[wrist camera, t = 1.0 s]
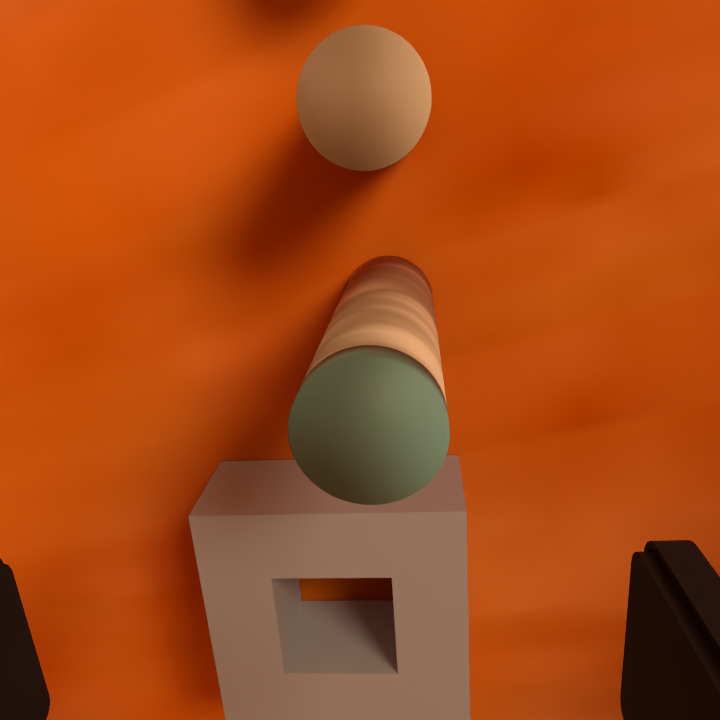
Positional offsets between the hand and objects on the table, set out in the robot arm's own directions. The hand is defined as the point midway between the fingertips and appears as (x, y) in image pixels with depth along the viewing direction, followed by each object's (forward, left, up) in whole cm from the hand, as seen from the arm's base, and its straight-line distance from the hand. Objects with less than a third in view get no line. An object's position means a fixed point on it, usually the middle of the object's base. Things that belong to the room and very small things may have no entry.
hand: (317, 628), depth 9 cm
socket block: (+3, +14, -21) cm, 25 cm away
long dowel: (0, 0, -21) cm, 21 cm away
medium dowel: (0, -8, -21) cm, 22 cm away
